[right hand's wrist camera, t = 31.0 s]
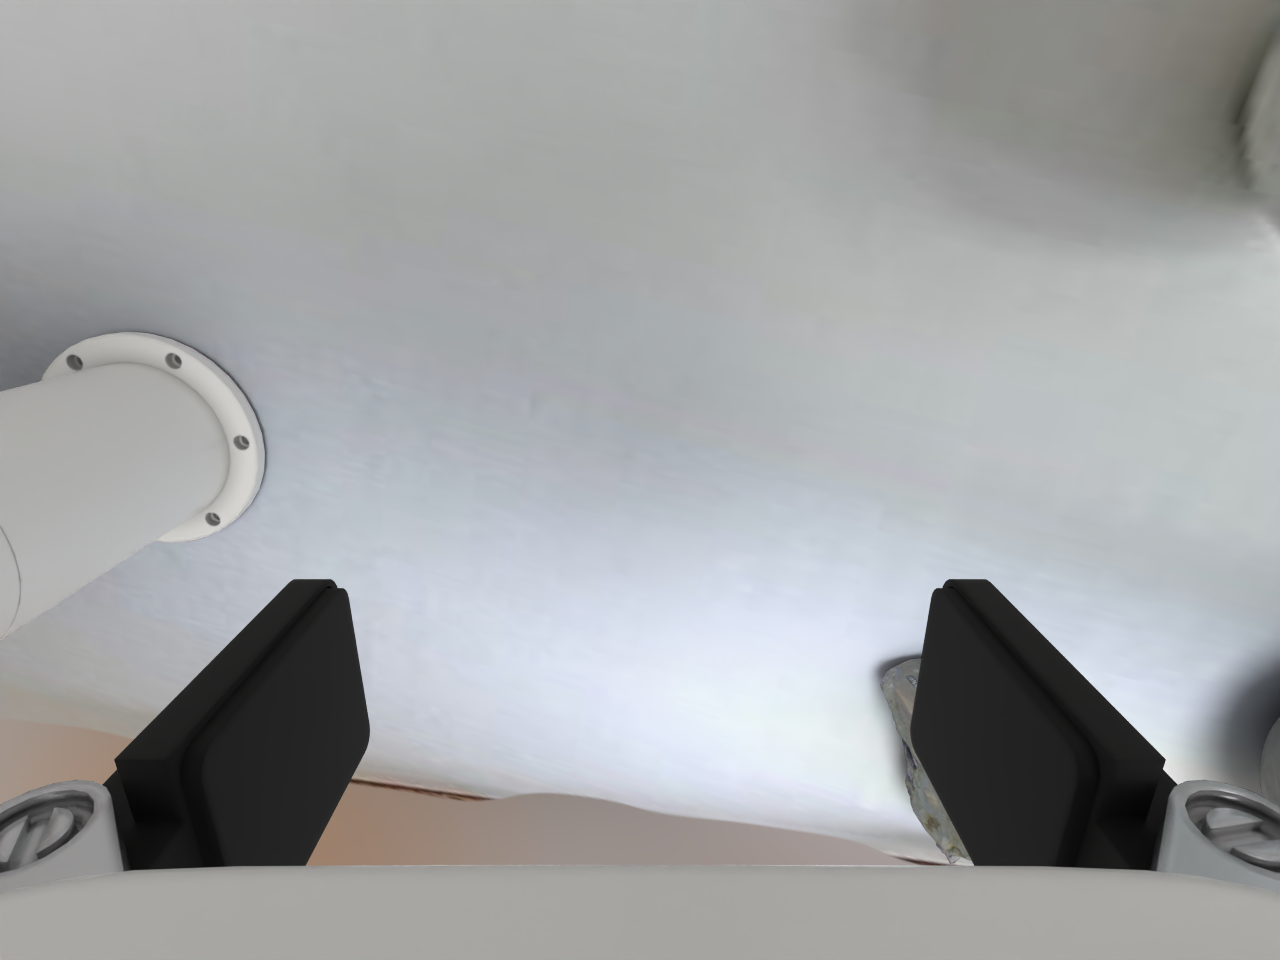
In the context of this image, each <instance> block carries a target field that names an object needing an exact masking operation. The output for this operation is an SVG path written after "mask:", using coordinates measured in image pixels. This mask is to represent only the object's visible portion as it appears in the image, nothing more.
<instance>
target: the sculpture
mask: <svg viewBox="0 0 1280 960" xmlns="http://www.w3.org/2000/svg"><path fill="white" fill-rule="evenodd" d="M1260 785H1261V791H1262V796H1263V797H1265V798H1268V799H1270V800H1272V801H1274V802H1276V803H1278V804H1280V717H1279V718H1278V719H1277V720H1276V722H1275V723H1274V724H1273V726H1272V728H1271V729H1270V731H1269V733H1268V735H1267V737H1266V740H1265V744H1264V747H1263V751H1262V755H1261V763H1260Z"/></svg>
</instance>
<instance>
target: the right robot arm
mask: <svg viewBox="0 0 1280 960" xmlns="http://www.w3.org/2000/svg"><path fill="white" fill-rule="evenodd" d="M180 359H181V360H180ZM246 438H247V439H246ZM247 440H248V441H247ZM264 465H265V449H264V443H263V437H262V432H261V429H260V427H259V424H258V421H257V418H256V416H255V413H254V411H253V410H252V408H251V406H250V404H249V403H248V401H247V399H246V397H245V396H244V394H243V393H242V392H241V390H240V389H239V388H238V387H237V385H236V384H235V383H234V382H233V380H232V379H231V378H230V377H229V376H228V375H227V374H226V373H225V372H224V371H222V370H221V369H220V368H219V367H218V366H217V365H216V364H215V363H214V362H212V361H211V360H209V359H208V358H206V357H205V356H203V355H202V354H200V353H199V352H197V351H196V350H194V349H193V348H190V347H188V346H186V345H184V344H181V343H179V342H177V341H175V340H173V339H169V338H166V337H162V336H158V335H154V334H150V333H140V332H119V333H111V334H105V335H101V336H97V337H92V338H88V339H85V340H83V341H81V342H79V343H77V344H75V345H73V346H71V347H69V348H67V349H66V350H65V351H64V352H63V353H61V354H60V355H59V356H58V357H57V358H55V359H54V360H53V362H52V363H51V365H50V366H49V367H48V369H47V370H46V371H45V373H44V374H43V377H42V379H41V381H40V382H36V383H32V384H28V385H24V386H20V387H16V388H12V389H8V390H4V391H1V392H0V641H1V640H2V639H4V638H5V637H7V636H9V635H10V634H12V633H13V632H15V631H16V630H18V629H19V628H21V627H23V626H24V625H26V624H27V623H29V622H30V621H32V620H33V619H35V618H36V617H38V616H40V615H41V614H43V613H44V612H46V611H47V610H49V609H50V608H52V607H53V606H55V605H57V604H58V603H60V602H61V601H63V600H64V599H66V598H67V597H69V596H70V595H72V594H74V593H75V592H77V591H78V590H80V589H81V588H83V587H84V586H86V585H87V584H89V583H91V582H92V581H94V580H95V579H97V578H98V577H100V576H101V575H103V574H104V573H106V572H108V571H109V570H111V569H112V568H114V567H115V566H117V565H118V564H120V563H121V562H123V561H125V560H126V559H128V558H129V557H131V556H132V555H134V554H135V553H137V552H138V551H140V550H142V549H143V548H145V547H146V546H148V545H149V544H151V543H152V542H154V541H160V542H174V543H175V542H184V541H194V540H197V539H200V538H203V537H207V536H210V535H212V534H214V533H216V532H218V531H219V530H221V529H223V528H225V527H227V526H228V525H229V524H231V523H232V522H233V521H235V520H236V519H237V518H239V517H240V516H241V515H242V514H243V513H244V511H245V510H246V509H247V508H248V507H249V506H250V505H251V504H252V502H253V500H254V498H255V496H256V494H257V492H258V491H259V489H260V485H261V482H262V478H263V474H264ZM369 736H370V725H369V719H368V712H367V706H366V700H365V694H364V688H363V682H362V676H361V670H360V664H359V658H358V652H357V645H356V639H355V633H354V627H353V621H352V615H351V609H350V603H349V597H348V593H347V592H346V590H345V589H343V588H337V585H336V584H335V582H334V581H333V580H331V579H294V580H292V581H291V582H289V583H288V584H287V585H286V586H285V587H284V588H283V589H282V590H281V591H280V592H279V593H278V594H277V596H276V597H275V598H274V599H273V600H272V601H271V602H270V603H269V604H268V605H267V606H266V607H265V608H264V609H263V610H262V611H261V612H260V613H259V614H258V615H257V616H256V617H255V618H254V619H253V620H252V621H251V622H250V623H249V624H248V625H247V626H246V627H245V628H244V629H243V630H242V631H241V632H240V633H239V634H238V635H237V636H236V637H235V638H234V639H233V640H232V641H231V642H230V643H229V644H228V645H227V646H226V647H225V648H224V649H223V650H222V651H221V652H220V653H219V654H218V655H217V656H216V657H215V658H214V659H213V660H212V661H211V662H210V663H209V664H208V665H207V666H206V667H205V668H204V669H203V670H202V671H201V672H200V673H199V674H198V675H197V676H196V677H195V678H194V679H193V680H192V681H191V683H190V684H189V685H188V686H187V687H186V688H185V689H184V690H183V691H182V692H181V693H180V694H179V695H178V696H177V697H176V698H175V699H174V700H173V701H172V702H171V703H170V704H169V705H168V706H167V707H166V708H165V709H164V710H163V711H162V712H161V713H160V714H159V715H158V716H157V717H156V718H155V719H154V720H153V721H152V722H151V723H150V724H149V725H148V726H147V727H146V728H145V729H144V730H143V731H142V732H141V733H140V734H139V735H138V736H137V737H136V738H135V739H134V740H133V741H132V742H131V743H130V744H129V745H128V746H127V747H126V748H125V749H124V750H123V751H122V752H121V753H120V754H119V755H118V756H117V757H116V758H115V763H116V767H117V770H116V771H115V772H114V773H113V774H112V775H111V776H110V778H108V780H107V781H106V782H105V783H104V784H103V785H101V784H99V783H96V782H94V781H83V780H72V781H66V782H59V783H53V784H50V785H47V786H44V787H40V788H37V789H34V790H31V791H28V792H26V793H24V794H21V795H19V796H17V797H15V798H12V799H10V800H8V801H6V802H4V803H2V804H0V960H1280V804H1278V803H1276V802H1274V801H1272V800H1270V799H1268V798H1265V797H1263V796H1261V795H1259V794H1256V793H1254V792H1252V791H1250V790H1246V789H1243V788H1240V787H1237V786H1233V785H1230V784H1227V783H1221V782H1214V781H1208V780H1196V781H1186V782H1184V783H1181V784H1179V785H1177V784H1176V783H1175V782H1174V781H1173V780H1172V778H1171V777H1170V776H1169V775H1168V774H1167V773H1166V772H1165V771H1164V770H1163V767H1164V764H1165V760H1166V759H1165V758H1164V757H1163V756H1162V755H1161V754H1160V753H1159V752H1158V751H1157V750H1156V749H1155V748H1154V747H1153V746H1152V745H1151V744H1150V743H1149V742H1148V741H1147V740H1146V739H1145V738H1144V737H1143V736H1142V735H1141V734H1140V733H1139V732H1138V731H1137V730H1136V729H1135V728H1134V727H1133V726H1132V725H1131V724H1130V723H1129V722H1128V721H1127V720H1126V719H1125V718H1124V717H1123V716H1122V715H1121V714H1120V713H1119V712H1118V711H1117V710H1116V709H1115V708H1114V707H1113V706H1112V705H1111V704H1110V703H1109V702H1108V701H1107V700H1106V699H1105V698H1104V697H1103V696H1102V695H1101V694H1100V693H1099V692H1098V691H1097V690H1096V689H1095V688H1094V687H1093V686H1092V685H1091V684H1090V683H1089V681H1088V680H1087V679H1086V678H1085V677H1084V676H1083V675H1082V674H1081V673H1080V672H1079V671H1078V670H1077V669H1076V668H1075V667H1074V666H1073V665H1072V664H1071V663H1070V662H1069V661H1068V660H1067V659H1066V658H1065V657H1064V656H1063V655H1062V654H1061V653H1060V652H1059V651H1058V650H1057V649H1056V648H1055V647H1054V646H1053V645H1052V644H1051V643H1050V642H1049V641H1048V640H1047V639H1046V638H1045V637H1044V636H1043V635H1042V634H1041V633H1040V632H1039V631H1038V630H1037V629H1036V628H1035V627H1034V626H1033V625H1032V624H1031V623H1030V622H1029V621H1028V620H1027V619H1026V618H1025V617H1024V616H1023V615H1022V614H1021V613H1020V612H1019V611H1018V610H1017V609H1016V608H1015V607H1014V606H1013V605H1012V604H1011V603H1010V602H1009V601H1008V600H1007V599H1006V598H1005V597H1004V596H1003V594H1002V593H1001V592H1000V591H999V590H998V589H997V588H996V587H995V586H994V585H993V584H992V583H991V582H989V581H988V580H986V579H949V580H947V581H946V582H945V584H944V585H943V588H937V589H935V590H934V592H933V593H932V597H931V603H930V609H929V615H928V621H927V627H926V633H925V639H924V645H923V652H922V658H921V664H920V670H919V676H918V682H917V688H916V694H915V700H914V706H913V712H912V719H911V725H910V736H911V742H912V746H913V749H914V751H915V753H916V755H917V757H918V759H919V761H920V763H921V765H922V767H923V768H924V770H925V772H926V774H927V776H928V778H929V780H930V782H931V784H932V786H933V788H934V789H935V791H936V793H937V795H938V797H939V799H940V801H941V803H942V805H943V807H944V809H945V810H946V812H947V814H948V816H949V818H950V820H951V822H952V824H953V826H954V828H955V829H956V831H957V833H958V835H959V837H960V839H961V841H962V843H963V845H964V847H965V849H966V850H967V852H968V854H969V856H970V858H971V860H972V862H973V864H974V866H896V865H893V866H891V865H388V866H387V865H384V866H306V864H307V862H308V860H309V858H310V856H311V854H312V852H313V850H314V849H315V847H316V845H317V843H318V841H319V839H320V837H321V835H322V833H323V831H324V829H325V827H326V826H327V824H328V822H329V820H330V818H331V816H332V814H333V812H334V810H335V809H336V807H337V805H338V803H339V801H340V799H341V797H342V795H343V793H344V791H345V789H346V788H347V785H348V784H349V782H350V780H351V778H352V776H353V774H354V772H355V770H356V768H357V767H358V765H359V763H360V761H361V759H362V757H363V755H364V753H365V751H366V749H367V746H368V742H369Z"/></svg>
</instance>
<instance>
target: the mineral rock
mask: <svg viewBox="0 0 1280 960" xmlns="http://www.w3.org/2000/svg"><path fill="white" fill-rule="evenodd" d="M920 664H921V658H917V659H910V660H908V661H905V662H903V663H901V664H899V665H897V666H895V667H893V668H891V669H889V670H887V672H886V674H885V675H884V676H883V678H882V679H881V688H882V690H883V692H884V694H885V696H886V698H887V701H888V704H889V707H890V709H891V711H892V714H893V719H894V721H895V723H896V729H897V731H898V732H899V733H900V735H901V736H902V738H903V744H904V748H905V756H906V761H907V763H908V764H907V768H908V769H907V774H906V780H905V783H906V787H907V789H908V793H909V795H910V799H911V806H912V808H913V811H914V813H915V815H916V816H917V818H918V819H919V821H920V822H921V824H922V825H923V827H924V828H925V830H926V831H927V832H928V834H929V835H930V836H931V837H932V838H933V839H934V840H935V841H936V845H937V847H938V848H939V849H940V850H941V851H942V853H944V854H945V855H946V857H947V859H948V860H949V862H950V864H952V863H955V862H956V861H957V860H958V859H960V857H963V858H965V859H967V860H971V858H970V856H969V854H968V852H967V850H966V849H965V847H964V845H963V843H962V841H961V839H960V837H959V835H958V833H957V831H956V829H955V828H954V826H953V824H952V822H951V820H950V818H949V816H948V814H947V812H946V810H945V809H944V807H943V805H942V803H941V801H940V799H939V797H938V795H937V793H936V791H935V789H934V788H933V786H932V784H931V782H930V780H929V778H928V776H927V774H926V772H925V770H924V768H923V767H922V765H921V763H920V761H919V759H918V757H917V755H916V753H915V751H914V749H913V746H912V742H911V736H910V725H911V719H912V712H913V706H914V700H915V694H916V688H917V682H918V676H919V670H920ZM971 861H972V860H971Z"/></svg>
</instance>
